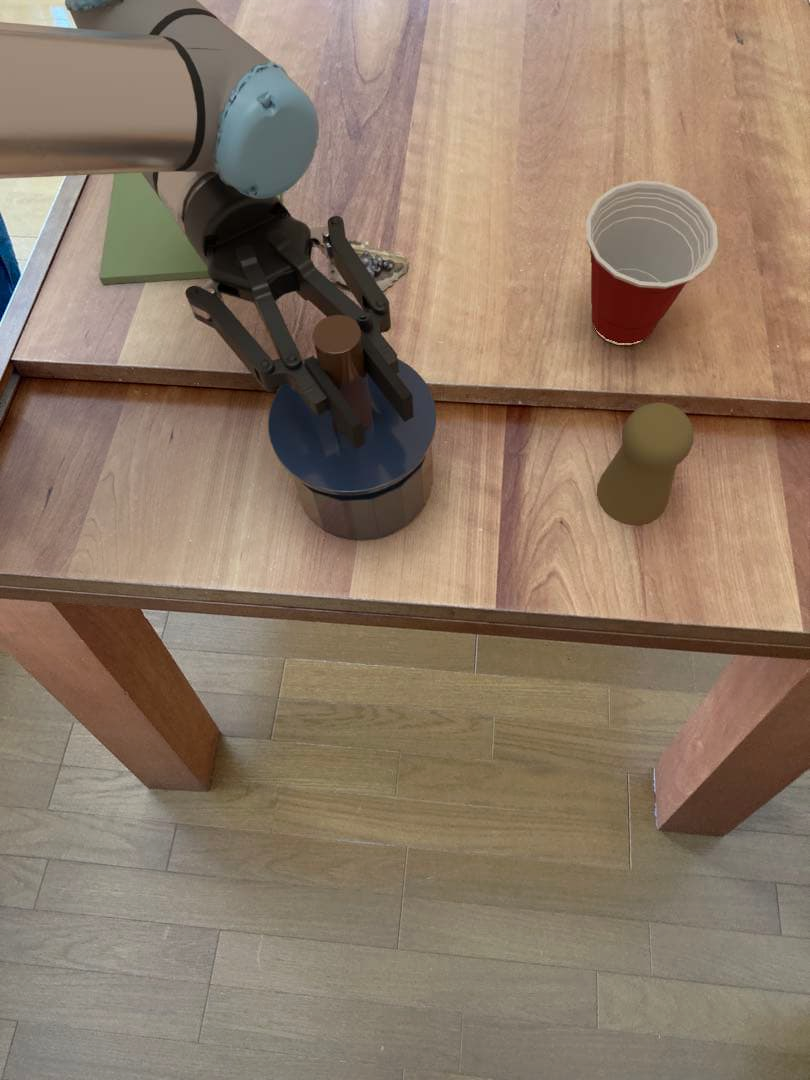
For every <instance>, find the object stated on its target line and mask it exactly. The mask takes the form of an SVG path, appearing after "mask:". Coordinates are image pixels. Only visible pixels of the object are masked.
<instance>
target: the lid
mask: <svg viewBox="0 0 810 1080" xmlns="http://www.w3.org/2000/svg"><path fill="white" fill-rule="evenodd" d="M312 341H313V345H314V350H315V354H316V357H315V359H316V360H317V361H318V363H319V365H320V366H321V367H322V368H323V370H324V371H325V372H326V374H327V375H328V376H329V378H330V379H331V380H332V382H333V383H334V385H335V386H336V387H337V389H338V390H339V391H340V393H341V394H342V396H343V397H344V398H345V400H346V401H347V402H348V404H349V405H350V407H351V408H352V409H353V411H354V412H355V413H356V415H357V416H358V417H359V419H360V420H361V422H362V425H363V431H364V437H365V443H366V444H365V445H363V446H361V447H359V448H358V449H356V448H355V447H354V445H353V444H352V442H351V441H350V440H349V438H348V437H347V435H346V434H345V433H344V431H343V430H342V428H341V427H340V426H339V424H338V423H337V421H336V420H335V419H334V417H333V416H332V414H331V413H330V412H329V410H328V411H326V412H324V413H323V414H321V415H319V416H318V415H316V414H315V413H313V412H312V411H311V409H310V408H309V406H308V405H307V404H306V402H305V401H304V399H303V398H302V397H301V395H300V394H299V393H298V392H295V391H293V390H292V387H291V385H282V386H279V388H278V389H277V392H276V394H275V395H274V398H273V400H272V401H271V402H272V403H271V404H270V405H271V406H270V409H269V413H268V420H267V426H268V437H269V442H270V443H271V446H272V449H273V453H274V455H275V456H276V458H277V460H278V462H279V463H280V464H281V466H282V467H283V469H284V470H285V471H286V472H289V473H290V474H291V475H292V476H293V477H294V478H296V479H297V480H298V481H300V482H301V483H303V484H305V485H307V486H309V487H310V488H313V489H316V490H318V491H321V492H325V493H329V494H335V495H362V494H368V493H372V492H377V491H379V490H382V489H385V488H388V487H390V486H392V485H394V484H396V483H397V482H399V481H400V480H402V479H403V478H405V477H406V476H408V475H409V474H410V473H411V472H412V471H413V470H415V468H416V467H417V466H418V465H419V464H420V463H421V462H422V460H423V459H424V457H425V456H426V454H427V453H428V451H429V449H430V447H431V445H432V446H433V442H434V439H435V436H436V429H437V409H436V402H435V400H434V396H433V393H432V391H431V389H430V387H429V386H428V384H427V383H426V381H425V380H424V378H423V377H422V376H421V375H420V374H419V373H418V372H417V371H416V370H415V369H414V368H413V367H412V366H410V365H409V364H408V363H406V362H405V361H404V360H402V359H399V358H398V367H399V372H398V373H396V374H397V376H398V377H399V378H400V379H401V381H402V382H403V383H404V385H405V386H406V387H407V388H408V390H409V391H410V392H411V394H412V398H413V415H414V417H413V418H411V419H409V420H407V421H406V422H404V421H403V420H402V418H401V417H400V416H399V414H398V413H397V412H396V410H395V409H394V408H393V406H392V405H391V404H390V402H389V401H388V400H387V398H386V397H385V396H384V394H383V393H382V392H381V390H380V389H379V388H378V387H377V385H376V384H375V383H374V381H373V380H372V379H371V377H370V376H369V375H368V373H367V372H366V365H365V358H364V351H363V344H362V337H361V330H360V327H359V325H358V324H357V322H356V321H354V320H353V319H352V318H350V317H347V316H344V315H333V316H329V317H327V316H325V317H324V318H322V319H321V320H320V321H318V322H317V324H316V325H315V327H314V328H313V330H312ZM289 473H288V474H289Z"/></svg>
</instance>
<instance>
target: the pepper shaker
mask: <svg viewBox="0 0 810 1080" xmlns="http://www.w3.org/2000/svg"><path fill="white" fill-rule="evenodd" d="M694 430H695V429H694V427H693V424H692V422H691V419H690V418H689V417H688V416H687V414H686V413H685V412H684V411H683V410H682V409H680V408H678V407H677V406H675V405H673V404H670V403H667V402H660V401H659V402H652V403H647V404H644V405H642V406H640V407H637V408H636V409H634V411H633V412H632V413H631V414H630V415H629V416H628V417H627V419H626V421H625V423H624V425H623V428H622V433H621V443H622V445H621V446H620V448H619V449H618V450H617V452H616V453H615V455H614V457H613V458H612V459H611V461H610V463H609V464H608V465H607V467H606V468H605V470H604V471H603V473H602V475H601V476H600V478H599V480H598V482H597V487H596V496H597V499H598V503H599V505H600V506H601V509H603V511H604V513H606V514H607V515H608V516H609V517H611V518H612V519H613V520H614V521H617V522H619V523H622V524H624V525H631V526H632V525H633V526H640V525H646V524H649V523H652V522H653V521H656V520H657V519H658V518H659V517H660V516H661V515H662V514H664V512H665V511H666V507H667V505H668V503H669V498H670V494H671V490H672V486H673V482H674V478H675V474H676V470H677V466H678V465H680V464H681V463H682V462H683V461H684V460H685V459H686V457H688V456H689V453H690V452H691V449H692V447H693V445H694V438H695V437H694V434H695V431H694Z"/></svg>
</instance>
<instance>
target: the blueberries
mask: <svg viewBox="0 0 810 1080" xmlns="http://www.w3.org/2000/svg"><path fill="white" fill-rule="evenodd" d="M348 241H349V243H350V244H351V246H352V247H353V249H354V250H355V252H356V253H357V255H358V256H359V258H360V259H361V261H362V262H363V264H364V265H365V267H366V268H367V270H368V271H369V273H370V274H371V276H372V277H373V279H374V280H375V281H376V283H377V284H378V286H379V287H380V289H381V290H382V292H385V291H386V290H387V289H388V288H389V287H393V284H394V281H398V280H399V278H401V277H402V276H403V275H405V274H406V273H407V272H408V269H409V262H408V261H407V258H406V256H404V255H403V254H402V253H401V252H399V251H396V252H395V251H394V250H393V251H391V250H388V249H385V250H378V249H377V248H378V247H379V246H380V244H377V245H375V246H373V245H370V244H369V243H370V242H369V241H368V240H365V242H364V243H362V241H357V240H350V239H349V240H348ZM328 260H329V261H330V263H328V266H329V268H330V269H332V270H333V273H332V274H331V275H330V276H331V277H330V279H329V280H333V281H332V283H337V282H339V283H340V284H341V285H344V286H346V287H348V286H347V284H346V283H345V281H344V280H343V278H342V277H341V275H340V274H339V272H338V270H337V269H336V267H335V264H334V260H333V258H332V259H328Z"/></svg>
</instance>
